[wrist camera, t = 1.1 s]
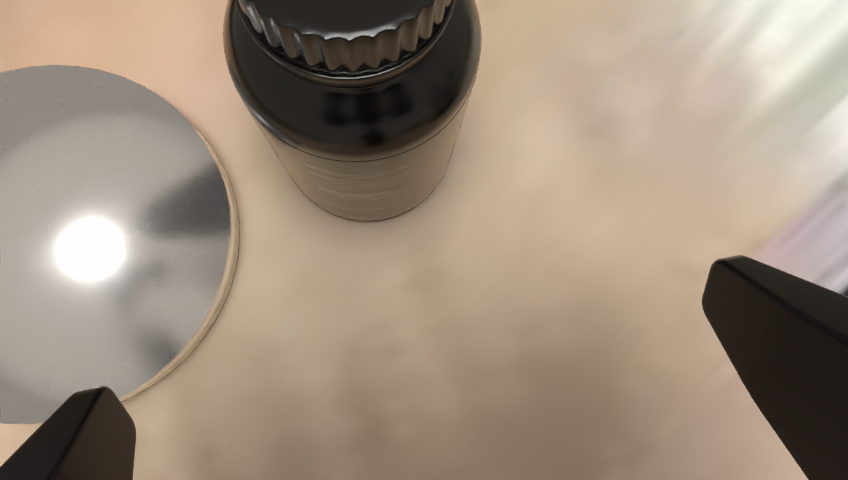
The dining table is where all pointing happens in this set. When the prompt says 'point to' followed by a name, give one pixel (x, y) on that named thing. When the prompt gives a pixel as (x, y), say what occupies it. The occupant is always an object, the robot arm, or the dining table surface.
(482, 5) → the dining table surface
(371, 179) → the supplement bottle
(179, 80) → the dining table surface
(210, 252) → the metal plate
